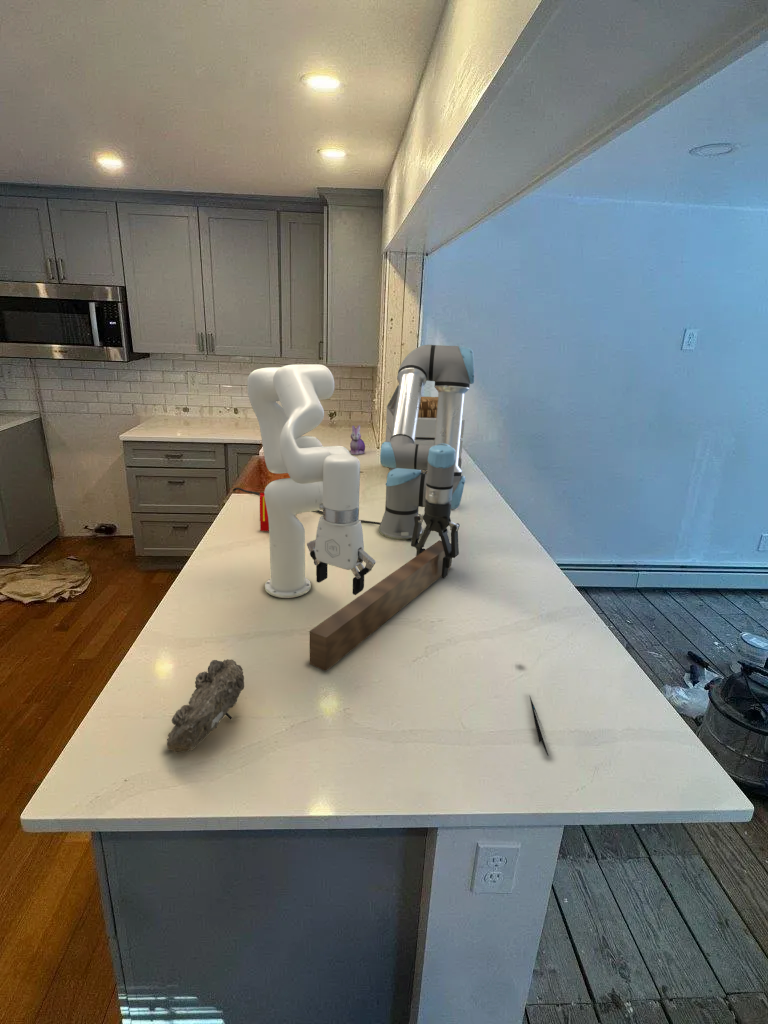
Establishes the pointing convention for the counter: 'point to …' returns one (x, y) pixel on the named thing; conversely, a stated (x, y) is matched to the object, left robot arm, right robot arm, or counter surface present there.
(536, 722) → the feather
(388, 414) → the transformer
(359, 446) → the figurine
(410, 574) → the post
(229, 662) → the fossil
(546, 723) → the counter surface
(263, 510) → the toy
